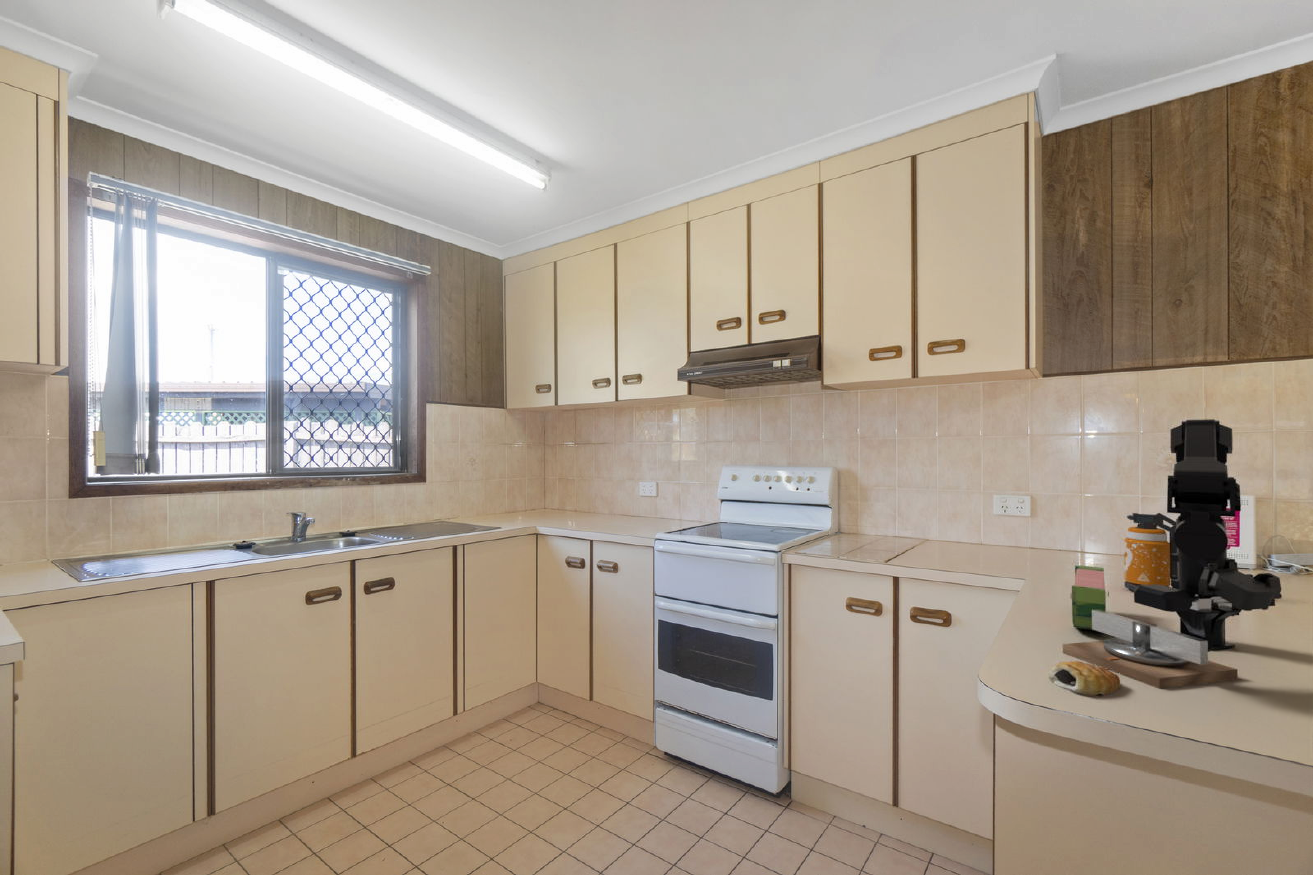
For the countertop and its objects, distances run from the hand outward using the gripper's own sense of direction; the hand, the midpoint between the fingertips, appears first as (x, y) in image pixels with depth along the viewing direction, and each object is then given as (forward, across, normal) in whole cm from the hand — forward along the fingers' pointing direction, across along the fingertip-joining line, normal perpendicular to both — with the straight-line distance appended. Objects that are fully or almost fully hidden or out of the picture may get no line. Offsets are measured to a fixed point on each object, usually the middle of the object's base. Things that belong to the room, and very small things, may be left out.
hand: (1204, 651), depth 92 cm
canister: (+6, +47, +53) cm, 71 cm away
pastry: (+5, -20, +1) cm, 21 cm away
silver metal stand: (+3, -3, +8) cm, 8 cm away
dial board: (+5, -3, +8) cm, 9 cm away
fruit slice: (+5, +7, +29) cm, 30 cm away
